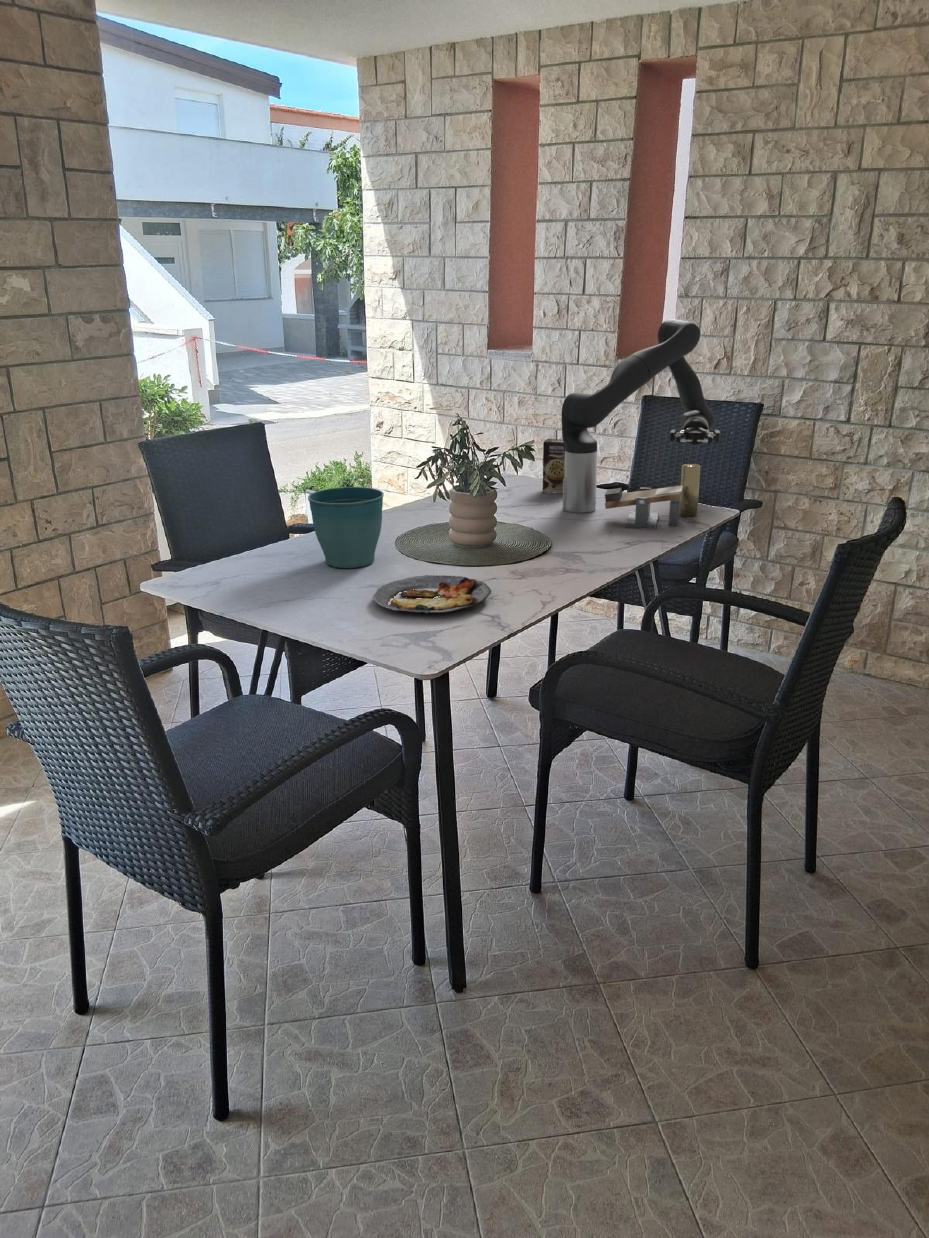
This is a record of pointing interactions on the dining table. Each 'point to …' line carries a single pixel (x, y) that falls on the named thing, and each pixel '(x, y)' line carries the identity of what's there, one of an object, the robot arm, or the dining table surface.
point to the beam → (654, 495)
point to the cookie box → (553, 465)
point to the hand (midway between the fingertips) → (694, 440)
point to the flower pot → (347, 524)
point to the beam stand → (650, 514)
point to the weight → (689, 490)
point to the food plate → (433, 594)
